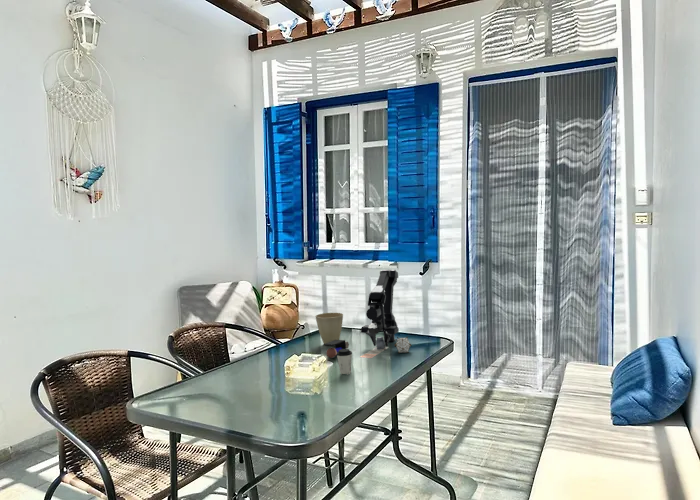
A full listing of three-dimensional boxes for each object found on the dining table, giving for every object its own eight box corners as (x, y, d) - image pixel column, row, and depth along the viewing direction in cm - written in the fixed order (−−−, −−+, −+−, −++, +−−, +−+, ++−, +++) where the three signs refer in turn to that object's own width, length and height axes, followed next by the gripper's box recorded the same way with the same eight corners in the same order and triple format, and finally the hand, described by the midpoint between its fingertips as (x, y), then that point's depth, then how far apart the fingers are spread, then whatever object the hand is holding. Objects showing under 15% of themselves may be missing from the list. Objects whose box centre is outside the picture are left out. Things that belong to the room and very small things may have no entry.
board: (376, 346, 258) (376, 345, 258) (392, 347, 254) (392, 346, 254) (356, 358, 239) (356, 357, 239) (373, 359, 234) (373, 358, 234)
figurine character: (338, 353, 256) (322, 358, 242) (337, 338, 256) (322, 342, 242) (349, 354, 252) (335, 359, 239) (349, 339, 253) (334, 343, 239)
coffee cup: (356, 373, 215) (355, 350, 215) (342, 376, 212) (341, 353, 211) (348, 369, 221) (346, 347, 221) (334, 373, 218) (333, 350, 217)
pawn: (378, 346, 255) (378, 336, 255) (386, 347, 253) (385, 336, 253) (375, 349, 252) (374, 338, 251) (382, 349, 249) (382, 338, 249)
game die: (406, 359, 244) (415, 341, 246) (406, 357, 236) (415, 339, 238) (390, 350, 246) (399, 333, 248) (389, 348, 238) (399, 330, 240)
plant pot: (325, 349, 260) (323, 319, 259) (313, 344, 273) (310, 315, 272) (350, 344, 267) (348, 314, 266) (336, 339, 280) (334, 311, 279)
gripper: (354, 318, 249) (356, 349, 250) (388, 319, 240) (391, 351, 241) (364, 314, 259) (367, 343, 260) (398, 315, 250) (400, 345, 250)
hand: (380, 346), depth 252 cm, fingers open, 6 cm apart
